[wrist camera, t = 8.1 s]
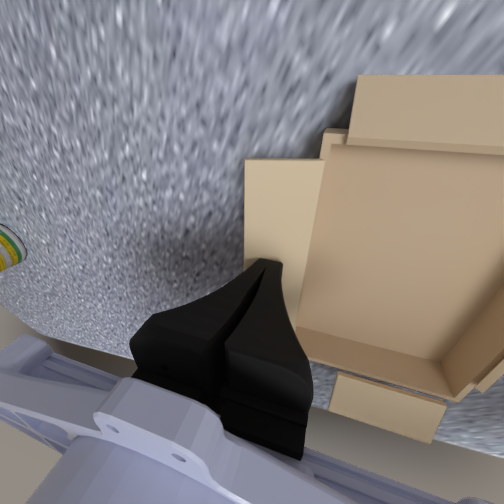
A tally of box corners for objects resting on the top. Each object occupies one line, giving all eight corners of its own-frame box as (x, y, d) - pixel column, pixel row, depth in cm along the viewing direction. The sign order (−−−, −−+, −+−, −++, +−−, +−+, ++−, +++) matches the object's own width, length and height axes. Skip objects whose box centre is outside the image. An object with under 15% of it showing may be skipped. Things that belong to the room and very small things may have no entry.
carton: (762, 77, 8) (1003, 61, 5) (475, 372, 18) (502, 424, 15) (335, 76, 11) (334, 67, 8) (291, 325, 21) (284, 360, 18)
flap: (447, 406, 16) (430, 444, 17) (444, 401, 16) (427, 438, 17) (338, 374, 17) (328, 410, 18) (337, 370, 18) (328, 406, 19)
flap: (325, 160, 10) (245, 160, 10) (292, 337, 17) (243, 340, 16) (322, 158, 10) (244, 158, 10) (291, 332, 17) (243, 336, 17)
